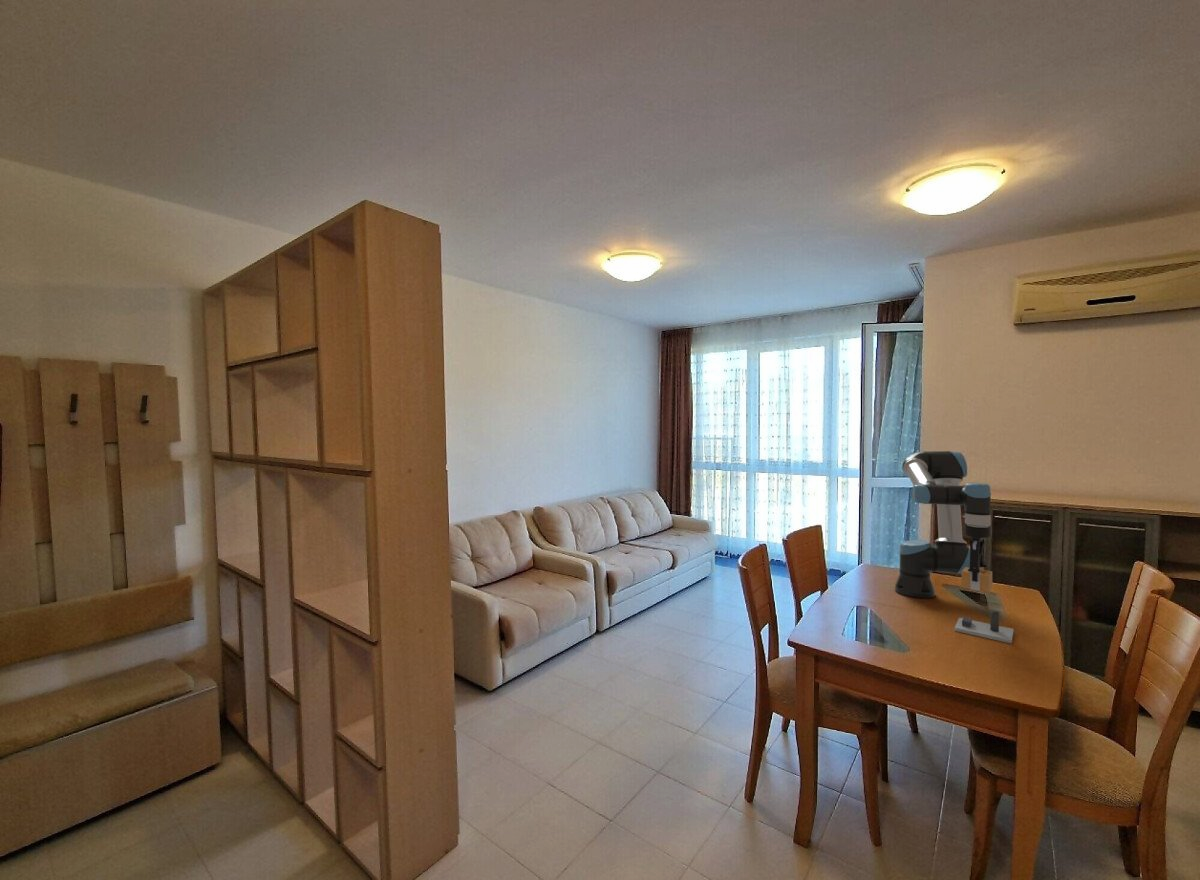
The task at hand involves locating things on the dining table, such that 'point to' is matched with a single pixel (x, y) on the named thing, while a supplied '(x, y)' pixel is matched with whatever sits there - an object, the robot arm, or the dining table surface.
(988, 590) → the link
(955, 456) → the robot arm
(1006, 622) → the dining table surface
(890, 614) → the dining table surface
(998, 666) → the dining table surface
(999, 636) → the keeper board
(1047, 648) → the dining table surface
